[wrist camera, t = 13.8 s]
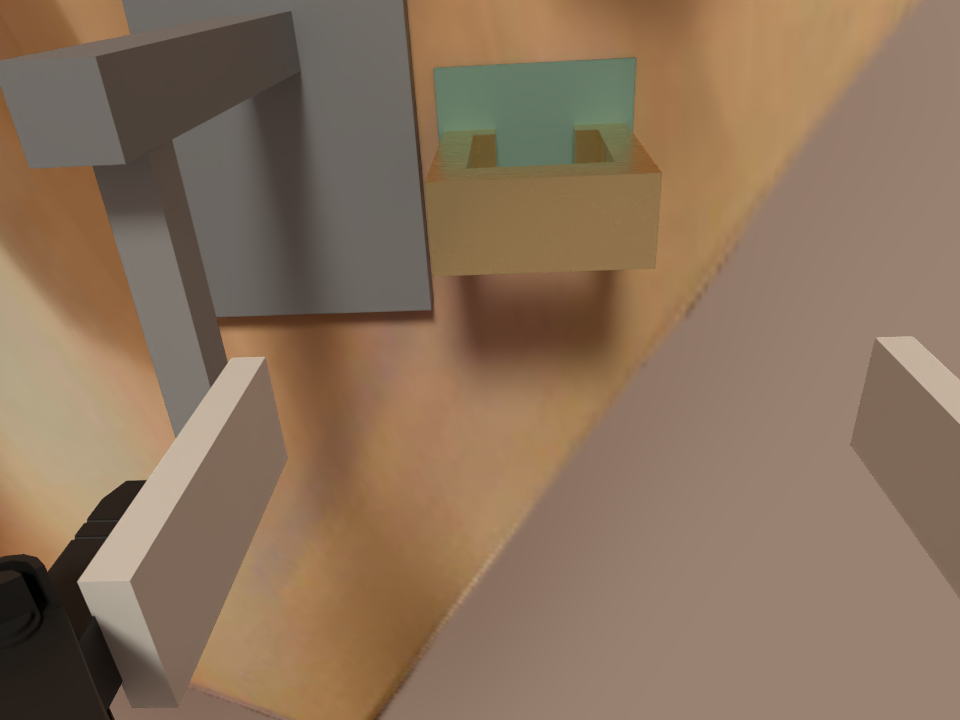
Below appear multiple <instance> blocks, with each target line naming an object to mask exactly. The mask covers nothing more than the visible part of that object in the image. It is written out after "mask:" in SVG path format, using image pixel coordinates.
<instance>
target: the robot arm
mask: <svg viewBox="0 0 960 720" xmlns="http://www.w3.org/2000/svg"><path fill="white" fill-rule="evenodd" d="M850 445H851V446H852V447H853V449H854V450H855V452H856V453H857V455H858V456H859V457H860V459H861V460H862V462H863V463H864V464H865V465H866V467H867V469H868V470H869V471H870V473H871V474H872V476H873V477H874V479H875V480H876V481H877V483H878V484H879V485H880V487H881V488H882V490H883V491H884V493H885V494H886V495H887V497H888V498H889V500H890V501H891V502H892V504H893V505H894V506H895V508H896V509H897V511H898V512H899V514H900V515H901V517H902V518H903V519H904V521H905V522H906V524H907V525H908V526H909V528H910V529H911V531H912V532H913V533H914V535H915V536H916V538H917V539H918V541H919V542H920V543H921V545H922V546H923V547H924V549H925V550H926V552H927V553H928V555H929V556H930V557H931V559H932V560H933V561H934V563H935V564H936V566H937V567H938V569H939V570H940V571H941V573H942V574H943V576H944V577H945V579H946V580H947V581H948V583H949V584H950V586H951V587H952V588H953V590H954V591H955V592H956V594H957V595H958V597H959V598H960V380H959V379H958V378H957V377H956V376H955V375H953V374H952V373H951V372H950V371H949V370H948V369H947V368H946V367H945V366H944V365H943V364H942V363H941V362H940V361H939V360H937V359H936V358H935V357H934V356H933V355H932V354H931V353H930V352H929V351H928V350H927V349H926V348H925V347H923V346H922V345H921V344H920V343H919V342H918V341H917V340H916V339H915V338H914V337H912V336H909V337H878V338H875V341H874V345H873V350H872V354H871V358H870V362H869V367H868V371H867V375H866V380H865V384H864V389H863V393H862V397H861V401H860V405H859V409H858V414H857V418H856V422H855V427H854V431H853V435H852V439H851V444H850ZM287 459H288V457H287V452H286V448H285V443H284V439H283V434H282V430H281V425H280V421H279V416H278V411H277V407H276V402H275V398H274V393H273V389H272V384H271V380H270V375H269V370H268V366H267V361H266V357H241V358H231V359H230V361H229V362H228V364H227V365H226V367H225V368H224V369H223V371H222V372H221V374H220V375H219V377H218V378H217V380H216V381H215V382H214V384H213V385H212V387H211V388H210V390H209V391H208V393H207V394H206V396H205V397H204V398H203V400H202V401H201V403H200V404H199V406H198V407H197V409H196V410H195V412H194V413H193V414H192V416H191V417H190V419H189V420H188V422H187V423H186V425H185V426H184V427H183V429H182V430H181V432H180V433H179V435H178V436H177V438H176V439H175V441H174V442H173V443H172V445H171V446H170V448H169V449H168V451H167V452H166V454H165V455H164V457H163V458H162V459H161V461H160V462H159V464H158V465H157V467H156V468H155V470H154V471H153V472H152V474H151V475H150V477H149V478H148V480H139V481H126V482H124V483H123V484H122V485H120V486H119V487H118V488H116V489H115V490H114V491H112V492H111V493H110V494H108V495H107V496H106V497H104V498H103V499H102V500H101V501H100V503H99V504H98V505H97V507H96V508H95V509H94V511H93V512H92V513H91V515H90V516H89V517H88V519H87V523H84V524H83V525H82V527H81V528H80V529H79V531H78V532H77V534H76V535H75V540H71V542H70V543H69V544H68V546H67V547H66V548H65V550H64V551H63V552H62V554H61V555H60V556H59V558H58V559H57V560H56V562H55V563H54V564H53V566H52V567H51V568H50V570H49V571H48V572H47V570H46V568H45V565H44V564H43V563H42V562H41V561H40V560H39V559H38V558H37V557H33V556H29V555H25V554H21V555H11V556H4V557H1V558H0V720H115V719H114V717H113V715H112V712H111V710H110V708H109V706H110V704H111V702H112V701H113V699H114V697H115V695H116V693H117V691H118V689H119V687H120V686H121V684H122V686H123V689H124V691H125V693H126V695H127V698H128V700H129V702H130V705H131V707H132V708H163V707H164V708H166V707H167V708H170V707H171V708H174V707H179V705H180V703H181V701H182V698H183V696H184V694H185V692H186V689H187V687H188V685H189V682H190V680H191V678H192V676H193V673H194V671H195V669H196V666H197V664H198V662H199V660H200V657H201V655H202V653H203V650H204V648H205V646H206V644H207V641H208V639H209V637H210V634H211V632H212V630H213V628H214V625H215V623H216V621H217V619H218V616H219V614H220V612H221V609H222V607H223V605H224V603H225V600H226V598H227V596H228V593H229V591H230V589H231V587H232V584H233V582H234V580H235V577H236V575H237V573H238V571H239V568H240V566H241V564H242V561H243V559H244V557H245V555H246V552H247V550H248V548H249V545H250V543H251V541H252V539H253V536H254V534H255V532H256V529H257V527H258V525H259V523H260V520H261V518H262V516H263V513H264V511H265V509H266V507H267V504H268V502H269V500H270V497H271V495H272V493H273V491H274V488H275V486H276V484H277V481H278V479H279V477H280V475H281V472H282V470H283V468H284V465H285V463H286V461H287Z"/></svg>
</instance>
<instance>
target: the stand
mask: <svg viewBox="0 0 960 720" xmlns="http://www.w3.org/2000/svg"><path fill="white" fill-rule="evenodd" d="M122 2H123V6H124V10H125V14H126V18H127V22H128V26H129V29H130V33H131V35H127V36H122V37H117V38H112V39H107V40H101V41H96V42H91V43H86V44H81V45H76V46H71V47H66V48H61V49H56V50H51V51H46V52H41V53H36V54H31V55H26V56H21V57H16V58H11V59H6V60H0V85H1V88H2V91H3V94H4V97H5V100H6V102H7V105H8V108H9V111H10V114H11V117H12V120H13V123H14V125H15V128H16V131H17V134H18V137H19V140H20V143H21V146H22V149H23V151H24V154H25V157H26V160H27V163H28V166H29V169H30V168H52V167H74V166H93V169H94V172H95V176H96V179H97V182H98V185H99V189H100V192H101V195H102V199H103V202H104V205H105V208H106V212H107V215H108V218H109V221H110V225H111V228H112V231H113V235H114V238H115V241H116V244H117V248H118V251H119V254H120V258H121V261H122V264H123V267H124V271H125V274H126V277H127V280H128V284H129V287H130V290H131V294H132V297H133V300H134V303H135V307H136V310H137V313H138V316H139V320H140V323H141V326H142V330H143V333H144V336H145V339H146V343H147V346H148V349H149V353H150V356H151V359H152V362H153V366H154V369H155V372H156V375H157V379H158V382H159V385H160V389H161V392H162V395H163V398H164V402H165V405H166V408H167V411H168V415H169V418H170V421H171V425H172V428H173V431H174V434H175V438H177V436H178V435H179V433H180V432H181V430H182V429H183V427H184V426H185V425H186V423H187V422H188V420H189V419H190V417H191V416H192V414H193V413H194V412H195V410H196V409H197V407H198V406H199V404H200V403H201V401H202V400H203V398H204V397H205V396H206V394H207V393H208V391H209V390H210V388H211V387H212V385H213V384H214V382H215V381H216V380H217V378H218V377H219V375H220V374H221V372H222V371H223V369H224V368H225V367H226V365H227V364H228V362H227V358H226V354H225V350H224V346H223V342H222V338H221V334H220V330H219V326H218V322H217V318H216V317H239V316H269V315H299V314H329V313H359V312H390V311H420V310H431V309H432V305H433V290H432V279H431V268H430V257H429V246H428V235H427V224H426V213H425V202H424V191H423V179H422V168H421V157H420V146H419V135H418V124H417V113H416V102H415V91H414V80H413V69H412V58H411V47H410V35H409V24H408V13H407V2H406V0H122Z"/></svg>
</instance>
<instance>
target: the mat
mask: <svg viewBox="0 0 960 720" xmlns="http://www.w3.org/2000/svg"><path fill="white" fill-rule="evenodd" d="M635 71H636V58H635V57H634V58H615V59H596V60H576V61H557V62H537V63H518V64H499V65H479V66H460V67H440V68H434V80H435V93H436V106H437V119H438V132H439V144H440V141H441V138H442V136H443V133H444V131H460V130H481V129H496V152H497V167H515V166H538V165H560V164H573V125H589V124H610V123H626V124H627V125H628V126H629V128H630V129H631V131H632V132H633V114H634V93H635Z"/></svg>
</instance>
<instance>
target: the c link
mask: <svg viewBox="0 0 960 720" xmlns="http://www.w3.org/2000/svg"><path fill="white" fill-rule="evenodd" d="M661 177H662V172H661V171H660V170H659V168H658V167H657V165H656V164H655V163H654V161H653V160H652V158H651V157H650V156H649V154H648V153H647V152H646V150H645V149H644V147H643V146H642V145H641V143H640V142H639V140H638V139H637V138H636V136H635V135H634V133H633V132H632V131H631V129H630V128H629V126H628V125H627V124H626V123H610V124H589V125H573V164H560V165H538V166H515V167H497V152H496V129H481V130H460V131H444V133H443V136H442V138H441V141H440V144H439V146H438V149H437V152H436V154H435V157H434V160H433V162H432V165H431V168H430V170H429V173H428V175H427V178H426V181H425V192H426V203H427V214H428V226H429V237H430V248H431V259H432V271H433V276H459V275H487V274H515V273H543V272H572V271H600V270H628V269H655V266H656V251H657V236H658V222H659V207H660V192H661Z"/></svg>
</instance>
